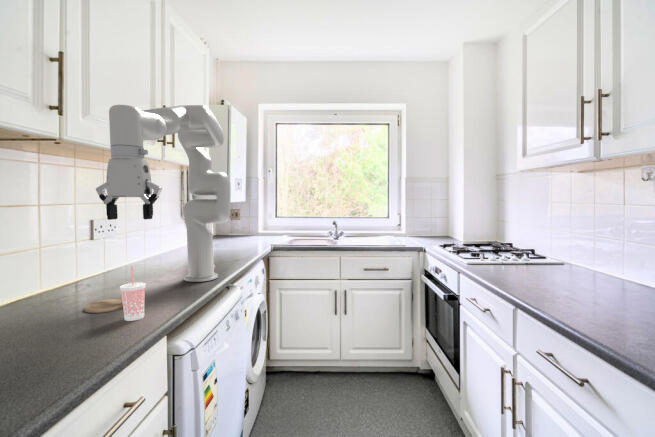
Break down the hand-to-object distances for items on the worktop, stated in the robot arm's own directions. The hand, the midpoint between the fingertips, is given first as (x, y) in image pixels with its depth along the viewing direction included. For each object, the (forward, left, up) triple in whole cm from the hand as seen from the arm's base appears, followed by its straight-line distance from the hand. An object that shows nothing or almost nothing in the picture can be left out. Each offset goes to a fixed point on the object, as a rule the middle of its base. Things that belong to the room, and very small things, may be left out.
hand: (130, 219), depth 91 cm
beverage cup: (0, 0, -27) cm, 27 cm away
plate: (-9, -14, -27) cm, 31 cm away
